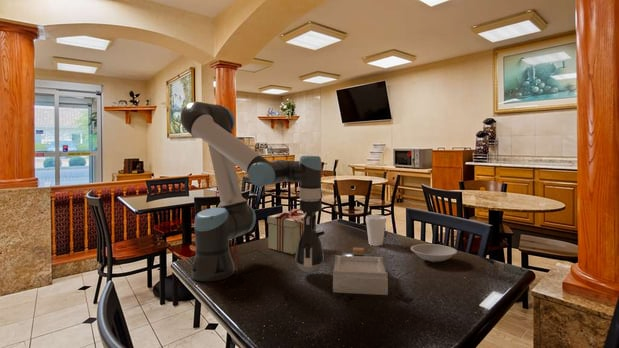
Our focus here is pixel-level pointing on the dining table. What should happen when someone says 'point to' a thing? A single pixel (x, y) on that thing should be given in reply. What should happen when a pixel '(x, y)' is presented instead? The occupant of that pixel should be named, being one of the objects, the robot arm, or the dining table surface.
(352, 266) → the white tray
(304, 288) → the dining table surface
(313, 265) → the pump dispenser
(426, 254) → the dish
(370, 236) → the foam cup
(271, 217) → the gift box
